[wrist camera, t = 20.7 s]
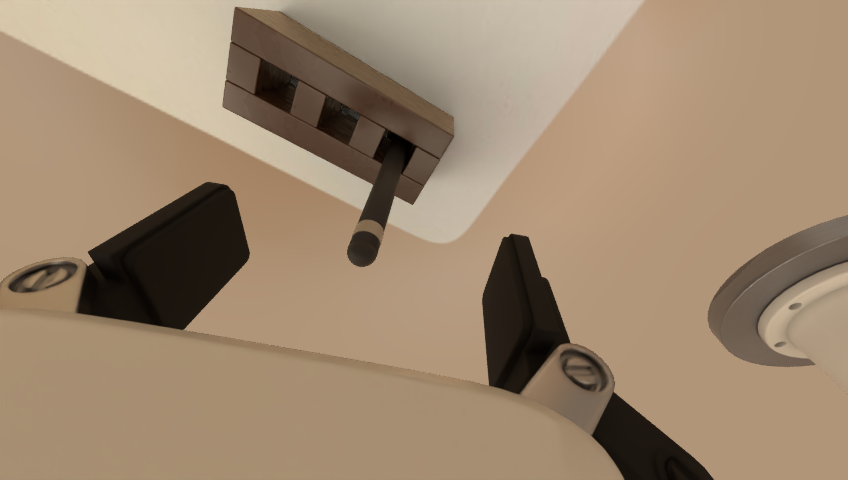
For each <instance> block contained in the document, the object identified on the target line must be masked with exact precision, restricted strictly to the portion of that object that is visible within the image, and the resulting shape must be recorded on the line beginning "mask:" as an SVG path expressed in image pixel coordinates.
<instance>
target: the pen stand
mask: <svg viewBox="0 0 848 480" xmlns="http://www.w3.org/2000/svg"><path fill="white" fill-rule="evenodd" d="M231 41H232V42H231V43H230V50H229V58H228V67H227V75H226V79H227V80H226V81H225V89H224V98H223V107H224V108H226V109H228V110H229V111H231V112H233V113H235V114H237V115H239V116H241V117H243V118H245V119H247V120H249V121H251V122H253V123H255V124H257V125H259V126H261V127H262V128H264V129H266V130H268V131H270V132H272V133H274V134H276V135H278V136H280V137H282V138H284V139H286V140H288V141H290V142H292V143H294V144H295V145H297V146H299V147H301V148H303V149H305V150H307V151H309V152H311V153H313V154H315V155H317V156H319V157H321V158H323V159H325V160H327V161H328V162H330V163H332V164H334V165H336V166H338V167H340V168H342V169H344V170H346V171H348V172H350V173H352V174H354V175H356V176H358V177H360V178H361V179H363V180H365V181H367V182H369V183H371V184H373V185H374V183H375V180H376V178H377V175H378V173H379V170H380V168H381V165H382V163H383V161H384V158H385V156H386V153H387V151H388V148H389V146H390V143H391V141H392V140H390V139H388V138H386V136H387V134H388V131H391V132H393V133H395V134H396V135H398V136H400V137H402V138H403V139H405V140H407V141H409V142H410V143H412V144H413V146H412V148H411V150H410V151H409V150H408V152H407V155H406V158H405V162H404V165H403V169H402V172H401V175H400V179H399V182H398V185H397V189H396V192H395V196H396V197H398V198H400V199H402V200H404V201H406V202H408V203H410V204H412V205H413V204H414V202H415V201H416V199H417V197H418V196H419V194H420V192H421V191H422V189H423V187H424V185H425V184H426V182H427V181H428V179H429V177H430V176H431V174H432V173H433V171H434V169H435V168H436V166H437V164H438V163H439V161H440V159H441V157H442V156H443V154H444V152H445V151H446V149H447V147H448V146H449V144H450V142H451V141H452V139H453V137H454V118H453V117H452V116H450V115H449V114H447V113H445V112H444V111H442V110H440V109H439V108H437V107H435V106H434V105H432V104H431V103H429V102H427V101H426V100H424V99H422V98H421V97H419V96H417V95H416V94H414V93H412V92H411V91H409V90H408V89H406V88H404V87H403V86H401V85H399V84H398V83H396V82H394V81H393V80H391V79H389V78H388V77H386V76H385V75H383V74H381V73H380V72H378V71H376V70H375V69H373V68H371V67H370V66H368V65H366V64H365V63H363V62H362V61H360V60H358V59H357V58H355V57H353V56H352V55H350V54H348V53H347V52H345V51H343V50H342V49H340V48H339V47H337V46H335V45H334V44H332V43H330V42H329V41H327V40H325V39H324V38H322V37H320V36H319V35H317V34H315V33H314V32H312V31H311V30H309V29H307V28H306V27H304V26H302V25H301V24H299V23H297V22H296V21H294V20H292V19H291V18H289V17H288V16H286V15H284V14H283V13H281V12H279V11H271V10H261V9H251V8H241V7H235V10H234V18H233V26H232V34H231ZM291 75H292V76H294V77H296V78H297V79H299V81H298V84H297V87H295V86H293V85H291V84H290V80H291ZM342 104H343V105H345V106H347V107H349V108H350V109H352V110H354V111H356V112H357V113H359V114H361V115H360V117H359V120H358V121H356V120H354V119H352V118H350V117H349V116H347V115H345V114H343V113H341V112H340V109H341V106H342Z"/></svg>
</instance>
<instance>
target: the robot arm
mask: <svg viewBox="0 0 848 480" xmlns="http://www.w3.org/2000/svg"><path fill="white" fill-rule="evenodd" d="M88 253H89V255H90V257H91V258H92V260H93V261H94V263H92V264H91V265H89V266H87V265H86V263H85V262H84V261H82V260H81V259H77V258H73V257H72V258H71V257H63V258H54V259H49V260H44V261H40V262H36V263H33V264H31V265H28V266H25V267H23V268H21V269H19V270H17V271H15V272H13V273H12V274H10V275H8V276H7V277H6V278H4V279H3V280H2V281H1V283H0V480H714V479H713V478H712V477H711V475H710V474H709V473H708V472H707V470H706V469H705V468H704V467H703V466H702V465H701V464H700V463H699V462H698V461H697V460H695V458H693V457H692V456H691V455H690V454H689V453H687V452H686V451H685V450H684V449H682V448H681V447H680V446H679V445H678V444H676V443H675V442H674V441H673V440H672V439H670V438H669V437H668V436H667V435H665V434H664V433H663V432H662V431H661V430H659V429H658V428H657V427H656V426H655V425H653V424H652V423H651V422H650V421H648V420H647V419H646V418H645V417H643V416H642V415H641V414H640V413H639V412H637V411H636V410H635V409H634V408H632V407H631V406H630V405H629V404H627V403H626V402H625V401H624V400H623V399H621V398H620V397H619V396H618V395H617V394H615V393H614V387H615V381H614V377H613V374H612V372H611V370H610V369H609V367H608V366H607V364H606V363H605V362H604V361H603V360H602V359H601V358H600V357H599V356H598V355H597V354H595V353H594V352H593V351H591V350H589V349H587V348H586V347H583V346H580V345H578V344H571V343H570V340H569V337H568V335H567V332H566V329H565V326H564V323H563V320H562V318H561V315H560V312H559V310H558V306H557V304H556V301H555V298H554V295H553V292H552V290H551V287H550V284H549V282H548V280H547V279H546V278H544V277H541V273H540V271H539V268H538V265H537V261H536V259H535V255H534V253H533V249H532V246H531V243H530V240H529V238H528V237H527V236H522V235H515V234H510V235H509V237H504V238H503V239H502V242H501V245H500V247H499V251H498V253H497V256H496V259H495V261H494V264H493V267H492V270H491V273H490V276H489V278H488V281H487V284H486V287H485V290H484V293H483V298H482V305H483V317H484V328H485V340H486V354H487V365H488V378H489V386H488V385H483V384H480V383H476V382H471V381H467V380H461V379H456V378H451V377H446V376H441V375H436V374H431V373H425V372H420V371H415V370H410V369H404V368H399V367H393V366H387V365H381V364H376V363H370V362H365V361H359V360H353V359H348V358H342V357H337V356H331V355H325V354H320V353H314V352H308V351H302V350H297V349H291V348H285V347H279V346H274V345H268V344H262V343H256V342H250V341H244V340H239V339H233V338H227V337H221V336H215V335H209V334H203V333H197V332H191V331H185V330H183V329H185V328H186V327H187V325H188V324H189V323H190V322H191V321H192V320H193V319H194V318H195V317H196V316H197V315H198V314H199V313H200V312H201V310H202V309H203V308H204V307H205V306H206V305H207V304H208V303H209V302H210V301H211V300H212V299H213V298H214V296H215V295H216V294H217V293H218V292H219V291H220V290H221V289H222V288H223V287H224V286H225V285H226V284H227V283H228V281H229V280H230V279H231V278H232V277H233V276H234V275H235V274H236V273H237V272H238V271H239V270H240V269H241V268H242V266H243V265H244V264H245V263H246V262H247V261H248V259H249V254H250V252H249V248H248V244H247V240H246V236H245V232H244V228H243V224H242V220H241V216H240V212H239V208H238V204H237V200H236V197H235V194H234V192H233V191H232V190H230V188H229V187H228V186H227V185H224V184H218V183H211V182H206V183H204V184H202V185H201V186H199V187H197V188H195V189H194V190H192V191H190V192H189V193H187V194H185V195H184V196H182V197H180V198H179V199H177V200H175V201H173V202H172V203H170V204H168V205H167V206H165V207H163V208H162V209H160V210H158V211H156V212H155V213H153V214H151V215H150V216H148V217H146V218H145V219H143V220H141V221H139V222H138V223H136V224H134V225H133V226H131V227H129V228H127V229H126V230H124V231H122V232H121V233H119V234H117V235H116V236H114V237H112V238H110V239H109V240H107V241H105V242H104V243H102V244H100V245H99V246H97V247H95V248H93V249H92V250H90V251H88ZM758 334H759V335H760V337H761V339H762V340H763V341H764V342H765V343H766V344H767V345H768V346H769V347H770V348H771V349H773V350H774V351H776V352H778V353H780V354H783V355H786V356H790V357H797V358H809V359H810V360H811V361H812V362H813V363H815V364H816V365H817V366H818V367H819V368H820V369H821V370H822V371H823V372H824V373H825V374H826V375H828V376H829V377H830V378H831V379H832V380H833V381H834V382H835V383H836V384H837V385H838V386H839V387H841V388H842V389H843V390H844V391H845V392H846V393H847V394H848V261H847V262H844V263H840V264H837V265H835V266H832V267H829V268H827V269H824V270H822V271H819V272H817V273H815V274H813V275H811V276H809V277H807V278H805V279H803V280H801V281H799V282H798V283H796V284H795V285H793V286H791V287H790V288H788V289H787V290H785V291H784V292H783V293H781V294H780V295H779V296H778V297H776V298H775V299H774V300H773V301H772V302H771V303H770V304H769V305H768V306H767V307H766V309H765V310H764V312H763V313H762V315H761V317H760V319H759V323H758Z"/></svg>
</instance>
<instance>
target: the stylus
mask: <svg viewBox="0 0 848 480" xmlns="http://www.w3.org/2000/svg"><path fill="white" fill-rule="evenodd" d="M409 145H410V142H409V141H407V140H405V139H403V138H402V137H400V136H398V135H396V134H394V136H393V138H392V141H391V143H390V146H389V148H388V151H387V153H386V156H385V158H384V161H383V163H382V165H381V168H380V170H379V173H378V175H377V178H376V180H375V183H374V185H373V187H372V190H371V192H370V195H369V197H368V200H367V202H366V205H365V207H364V210H363V212H362V215H361V217H360V219H359V222H358V224H357V225H356V228H355V231H354V233H353V235H352V239H351V241H350V244H349V246H348V250H347V255H348V258H349V260H350V261H351V263H353V264H354V265H356V266H359V267H365V266H368V265H370V264H372V263H373V261H374V260H375V259H376V257H377V253H378V249H379V247H380V245H381V241H382V238H383V235H384V230H385V226H386V223H387V219H388V216H389V213H390V209H391V206H392V202H393V199H394V196H395V192H396V189H397V185H398V182H399V179H400V175H401V172H402V169H403V165H404V162H405V158H406V155H407V152H408V148H409Z"/></svg>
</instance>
